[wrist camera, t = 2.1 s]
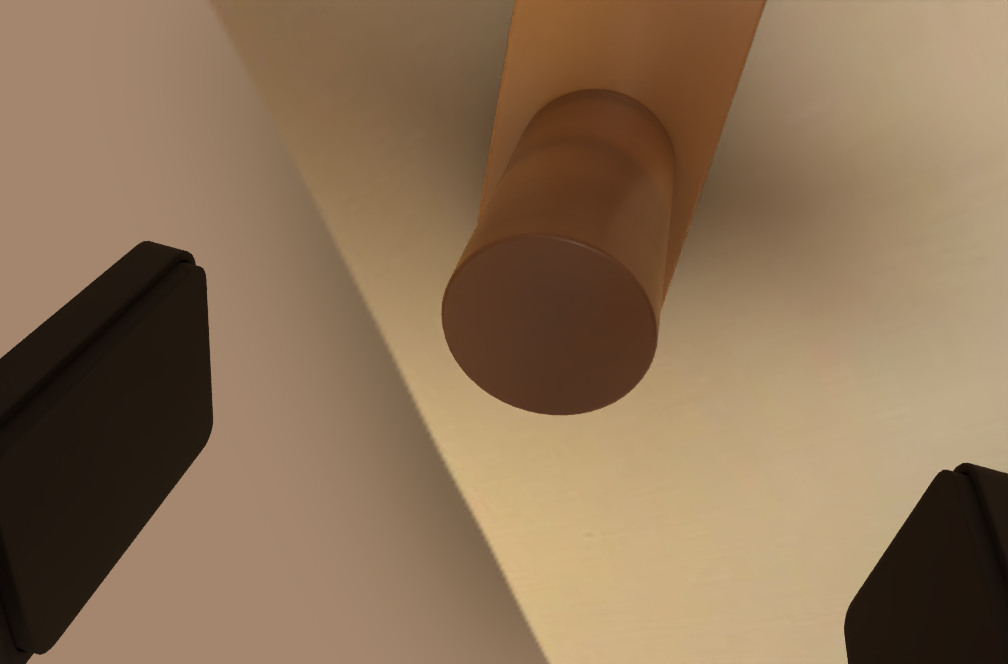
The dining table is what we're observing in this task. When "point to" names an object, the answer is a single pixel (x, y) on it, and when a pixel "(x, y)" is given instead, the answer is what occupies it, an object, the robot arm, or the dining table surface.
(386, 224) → the dining table surface
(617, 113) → the stamp
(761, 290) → the dining table surface
